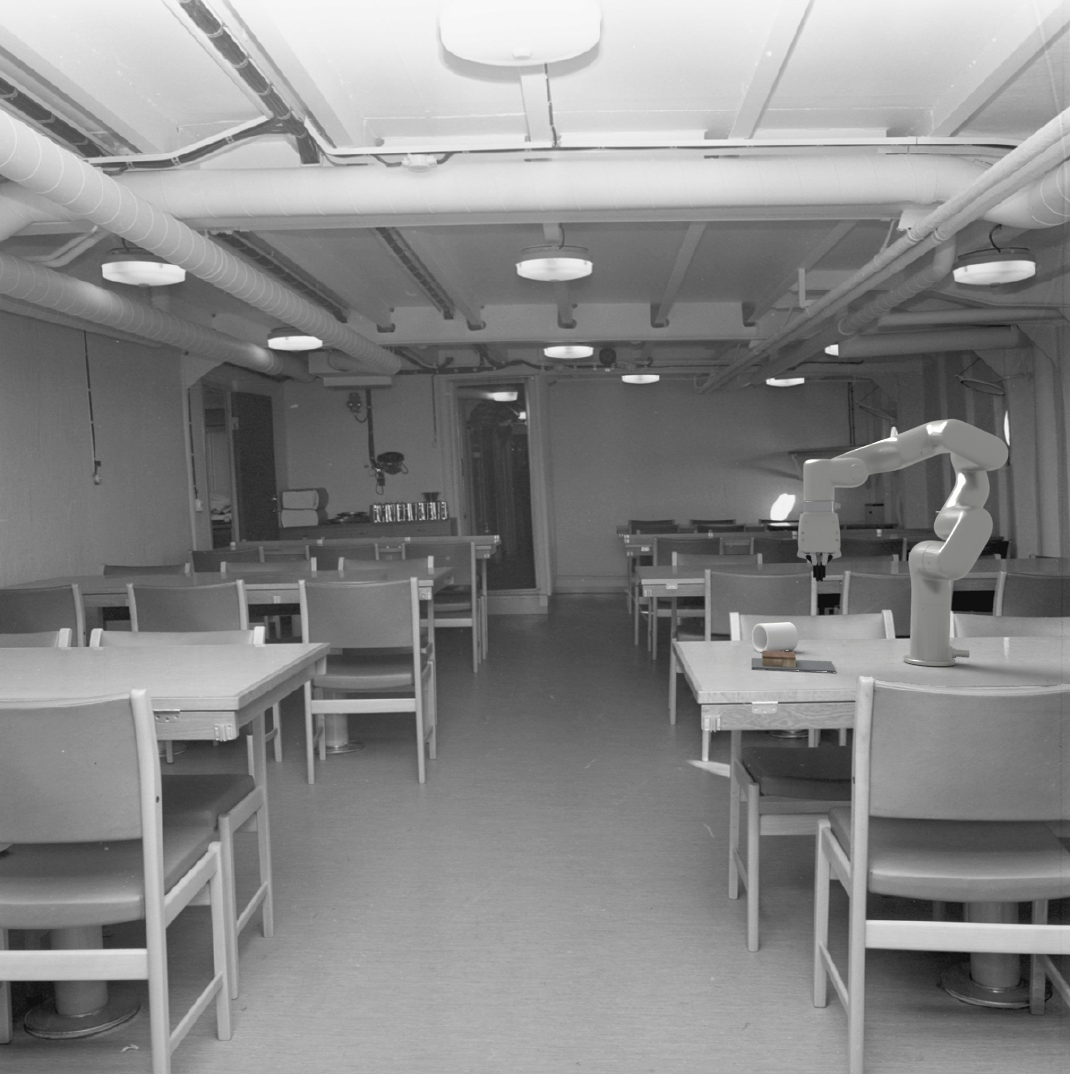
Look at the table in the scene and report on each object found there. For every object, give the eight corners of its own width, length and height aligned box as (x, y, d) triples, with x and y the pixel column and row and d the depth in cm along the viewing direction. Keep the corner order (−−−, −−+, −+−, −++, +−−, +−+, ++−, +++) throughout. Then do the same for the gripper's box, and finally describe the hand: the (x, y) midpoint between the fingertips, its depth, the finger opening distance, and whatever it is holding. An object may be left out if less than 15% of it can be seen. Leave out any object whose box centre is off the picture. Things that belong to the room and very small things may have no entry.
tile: (794, 651, 255) (762, 650, 256) (795, 657, 246) (762, 656, 248) (794, 661, 255) (761, 659, 256) (795, 667, 246) (762, 665, 248)
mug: (798, 653, 272) (799, 624, 272) (768, 655, 269) (768, 625, 268) (771, 646, 284) (772, 618, 283) (742, 648, 280) (742, 620, 279)
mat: (831, 663, 255) (831, 661, 255) (835, 673, 242) (836, 670, 242) (751, 660, 260) (751, 657, 259) (751, 669, 246) (751, 666, 246)
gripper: (848, 507, 252) (848, 579, 253) (787, 508, 256) (788, 579, 256) (851, 508, 245) (851, 582, 246) (788, 508, 248) (789, 582, 249)
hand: (819, 580), depth 251 cm, fingers closed
